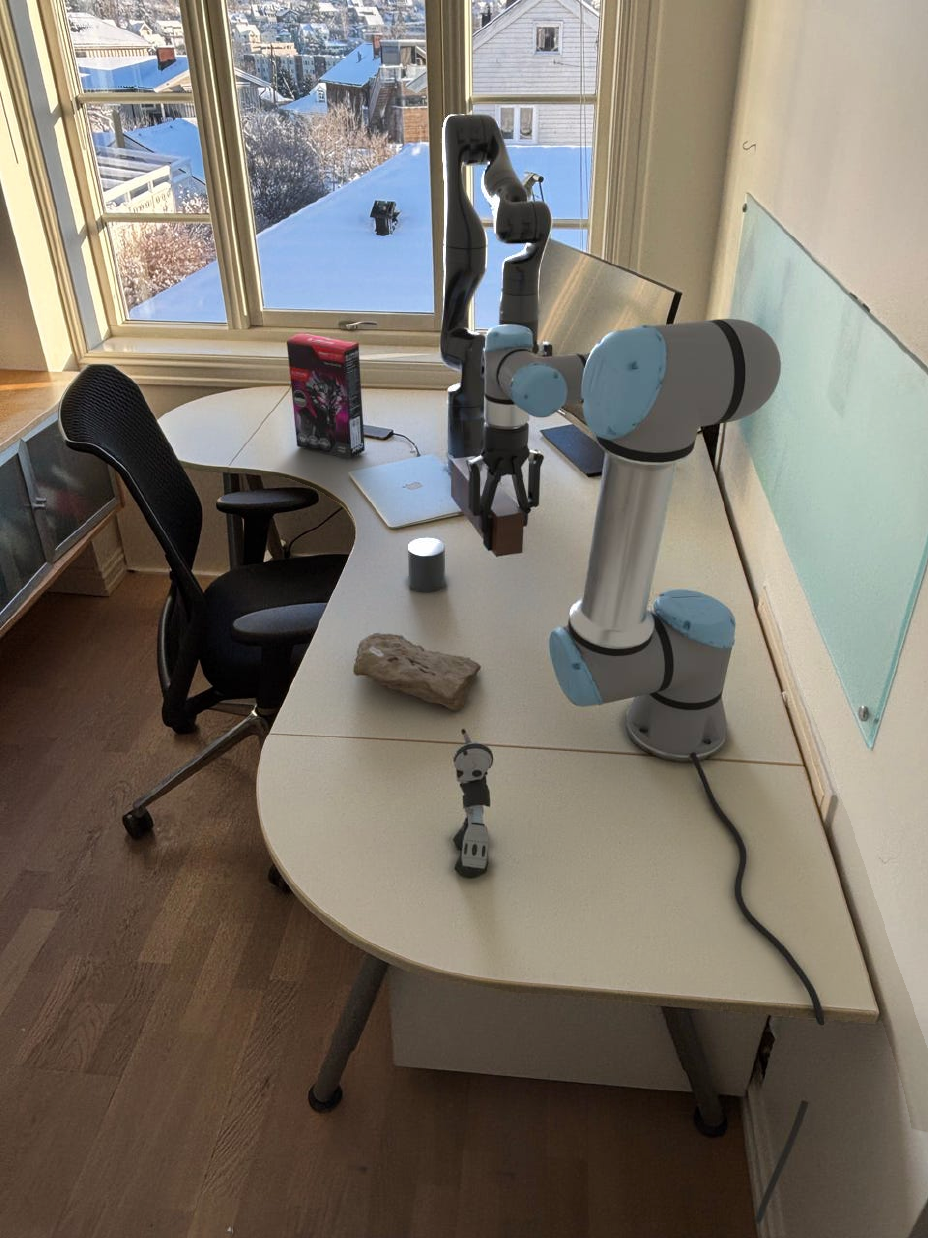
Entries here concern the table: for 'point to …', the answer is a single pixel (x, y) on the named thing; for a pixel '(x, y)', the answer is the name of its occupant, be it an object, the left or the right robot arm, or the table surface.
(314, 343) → the graphics card box
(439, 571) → the grey cylinder white top
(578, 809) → the table surface
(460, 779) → the robot
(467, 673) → the stone
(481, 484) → the walnut block
